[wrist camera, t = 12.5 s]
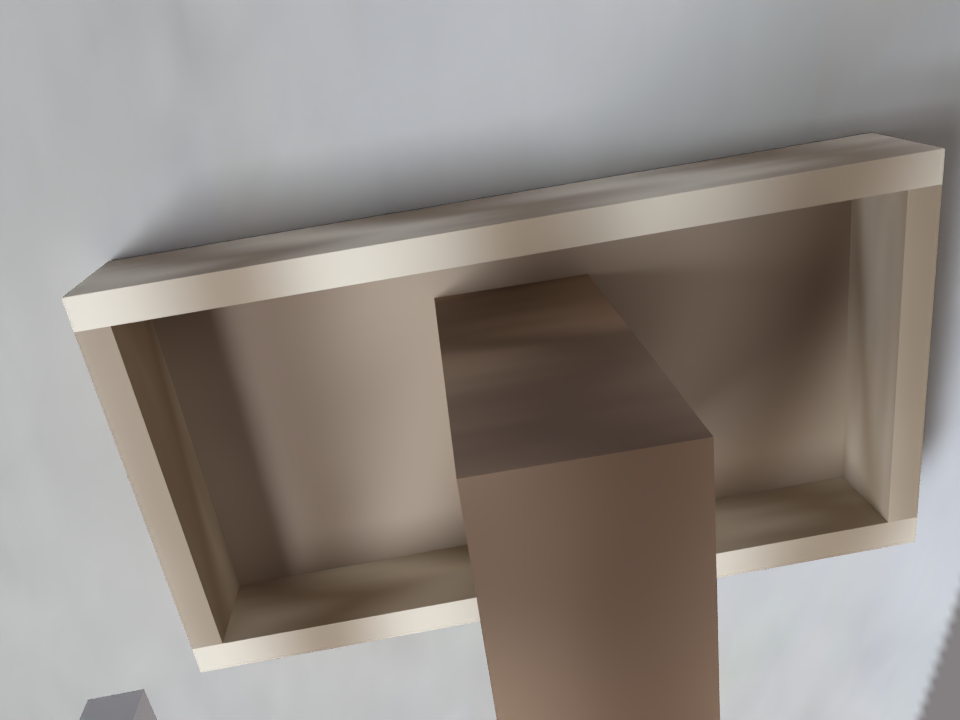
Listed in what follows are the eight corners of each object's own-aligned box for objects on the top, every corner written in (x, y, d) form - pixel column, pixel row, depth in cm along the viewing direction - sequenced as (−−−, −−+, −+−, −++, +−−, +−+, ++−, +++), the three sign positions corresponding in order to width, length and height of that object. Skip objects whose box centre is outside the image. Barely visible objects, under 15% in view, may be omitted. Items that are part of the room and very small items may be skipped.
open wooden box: (223, 598, 24) (200, 672, 21) (108, 261, 20) (61, 298, 17) (857, 484, 25) (915, 541, 22) (871, 132, 20) (945, 148, 18)
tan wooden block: (466, 496, 23) (504, 762, 14) (433, 298, 20) (456, 479, 12) (604, 474, 23) (719, 724, 15) (587, 273, 21) (713, 436, 12)
